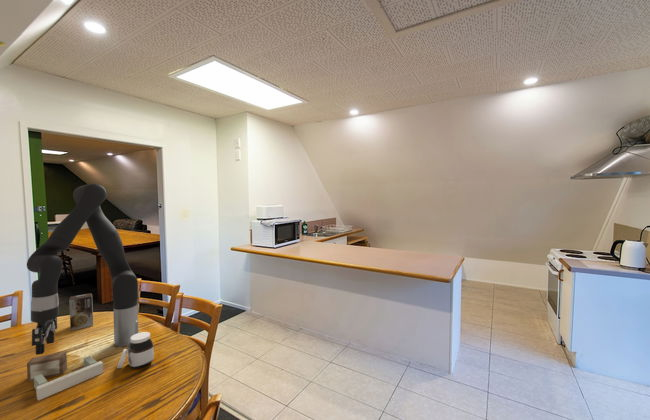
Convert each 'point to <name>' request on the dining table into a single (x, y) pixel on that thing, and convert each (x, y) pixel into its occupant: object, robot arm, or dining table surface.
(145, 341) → the spread jar
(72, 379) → the ledge
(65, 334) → the dining table surface
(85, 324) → the coffee box
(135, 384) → the dining table surface
